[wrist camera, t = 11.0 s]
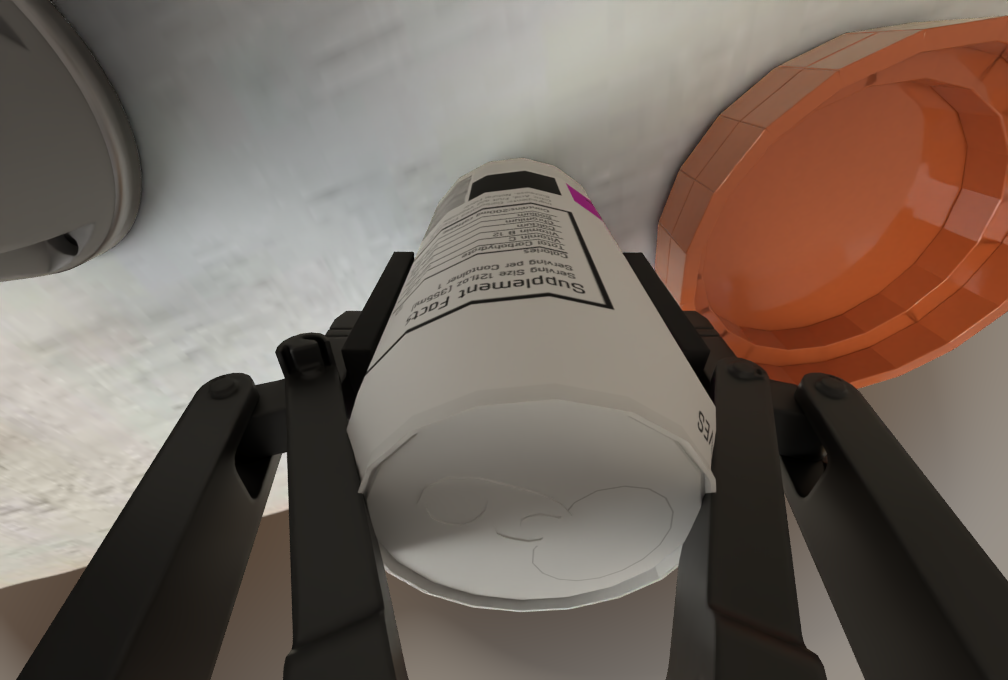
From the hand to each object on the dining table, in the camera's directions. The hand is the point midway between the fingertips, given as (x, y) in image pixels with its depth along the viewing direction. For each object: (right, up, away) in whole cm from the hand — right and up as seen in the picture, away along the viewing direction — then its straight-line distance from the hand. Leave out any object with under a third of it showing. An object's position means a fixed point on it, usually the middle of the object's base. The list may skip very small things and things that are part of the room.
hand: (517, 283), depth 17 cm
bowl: (+16, +4, +6) cm, 18 cm away
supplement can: (0, +3, +4) cm, 5 cm away
